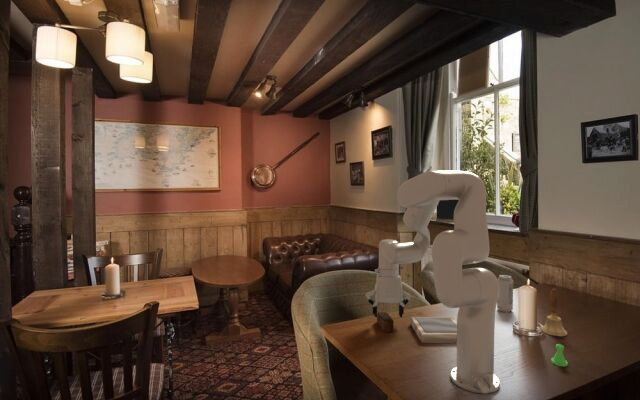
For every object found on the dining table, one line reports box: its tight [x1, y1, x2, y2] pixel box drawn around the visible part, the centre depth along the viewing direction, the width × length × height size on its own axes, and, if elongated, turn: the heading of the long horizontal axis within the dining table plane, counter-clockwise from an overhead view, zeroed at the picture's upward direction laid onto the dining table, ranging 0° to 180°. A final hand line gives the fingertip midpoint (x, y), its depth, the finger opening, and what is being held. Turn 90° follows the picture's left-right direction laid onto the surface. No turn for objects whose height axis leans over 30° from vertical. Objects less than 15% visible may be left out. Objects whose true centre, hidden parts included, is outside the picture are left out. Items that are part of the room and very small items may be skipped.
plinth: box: [410, 316, 457, 344], centre depth 132 cm, size 16×16×3 cm
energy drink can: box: [496, 274, 514, 313], centre depth 154 cm, size 6×6×15 cm
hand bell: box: [540, 288, 568, 337], centre depth 132 cm, size 8×8×16 cm
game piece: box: [550, 343, 569, 368], centre depth 110 cm, size 4×4×6 cm
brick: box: [376, 311, 395, 333], centre depth 138 cm, size 11×4×5 cm, turn 4°
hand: (387, 315), depth 139 cm, fingers open, 9 cm apart
